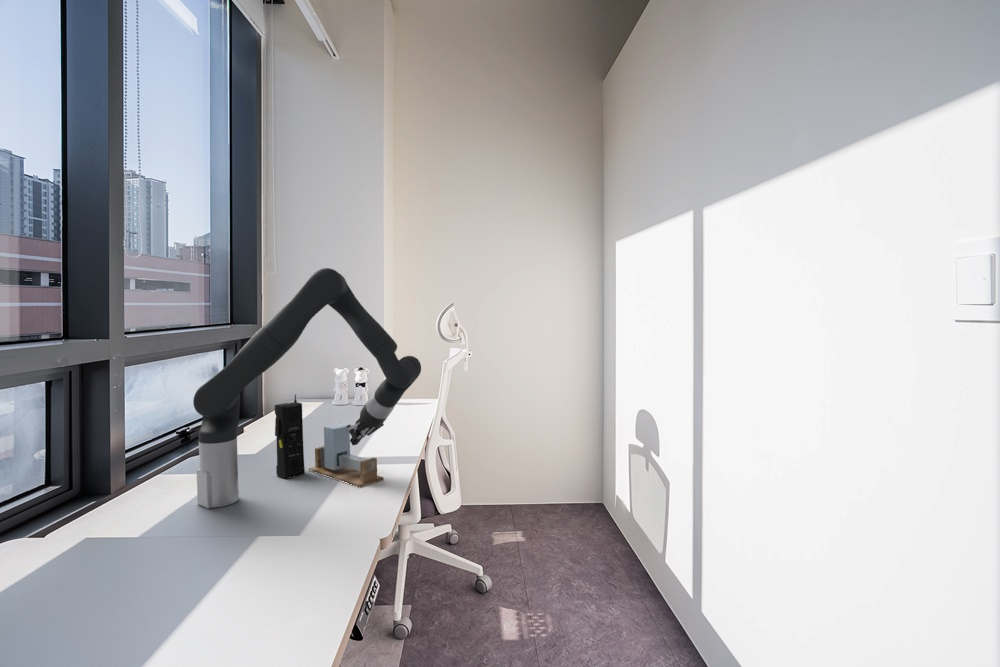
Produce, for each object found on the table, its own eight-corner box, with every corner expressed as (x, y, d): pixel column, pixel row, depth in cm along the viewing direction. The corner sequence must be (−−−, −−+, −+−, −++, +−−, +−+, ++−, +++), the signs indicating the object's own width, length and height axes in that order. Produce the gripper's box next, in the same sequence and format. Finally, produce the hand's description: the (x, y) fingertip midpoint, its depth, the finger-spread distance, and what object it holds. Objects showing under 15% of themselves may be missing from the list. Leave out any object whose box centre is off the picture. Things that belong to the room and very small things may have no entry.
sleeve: (350, 465, 174) (349, 425, 173) (334, 470, 169) (333, 429, 168) (340, 462, 177) (340, 423, 176) (324, 467, 172) (323, 426, 171)
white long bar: (374, 471, 164) (374, 460, 164) (365, 473, 161) (365, 462, 161) (326, 456, 179) (326, 446, 179) (317, 459, 177) (317, 448, 176)
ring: (340, 462, 177) (340, 444, 176) (324, 467, 172) (324, 448, 172) (337, 461, 178) (336, 443, 178) (321, 466, 173) (320, 447, 173)
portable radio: (283, 480, 165) (281, 399, 164) (272, 476, 169) (270, 397, 167) (306, 474, 171) (304, 395, 170) (295, 470, 175) (293, 393, 174)
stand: (383, 479, 166) (383, 457, 166) (359, 487, 159) (358, 464, 158) (332, 464, 182) (332, 443, 182) (308, 470, 175) (308, 449, 175)
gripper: (389, 395, 166) (365, 429, 174) (353, 401, 155) (329, 437, 164) (401, 414, 163) (376, 448, 171) (366, 422, 152) (340, 457, 161)
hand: (353, 442), depth 167 cm, fingers closed
